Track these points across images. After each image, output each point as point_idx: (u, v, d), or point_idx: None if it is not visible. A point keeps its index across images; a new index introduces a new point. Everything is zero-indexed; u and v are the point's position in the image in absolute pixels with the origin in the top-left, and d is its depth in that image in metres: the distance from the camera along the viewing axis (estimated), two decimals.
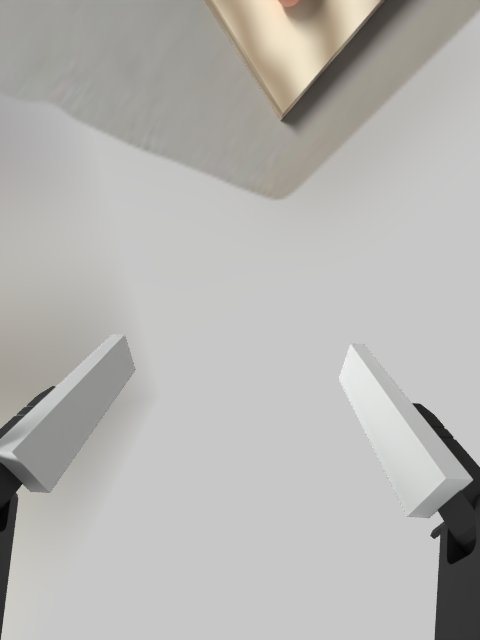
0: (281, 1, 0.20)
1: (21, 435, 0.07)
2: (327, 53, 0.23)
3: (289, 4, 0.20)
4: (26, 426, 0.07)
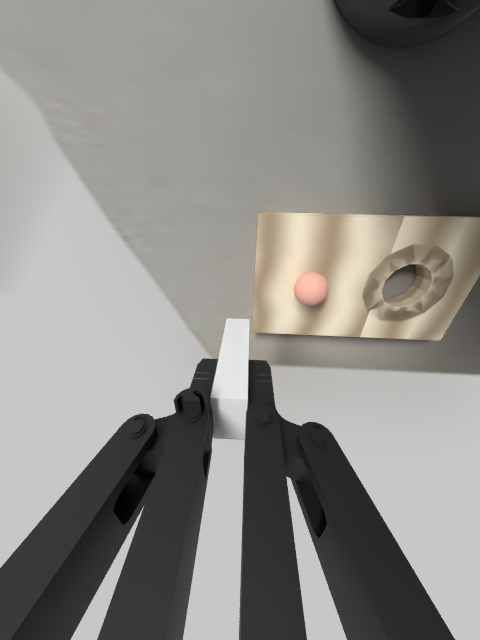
0: None
1: (225, 388, 0.09)
2: (302, 330, 0.27)
3: None
4: (223, 382, 0.09)
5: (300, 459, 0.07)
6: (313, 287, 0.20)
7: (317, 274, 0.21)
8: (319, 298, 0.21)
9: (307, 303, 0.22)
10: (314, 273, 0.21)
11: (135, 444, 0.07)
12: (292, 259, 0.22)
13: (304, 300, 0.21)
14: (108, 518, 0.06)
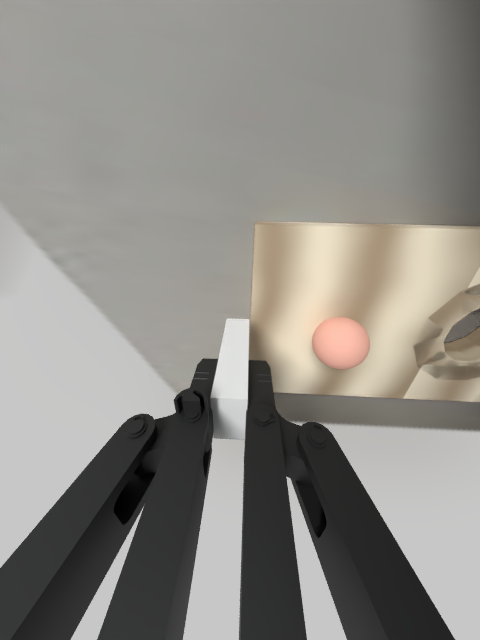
0: None
1: (225, 388, 0.09)
2: (320, 389, 0.19)
3: None
4: (223, 382, 0.09)
5: (300, 459, 0.07)
6: (347, 348, 0.12)
7: (352, 323, 0.13)
8: (356, 363, 0.13)
9: (335, 368, 0.14)
10: (348, 321, 0.13)
11: (135, 444, 0.07)
12: (308, 295, 0.14)
13: (331, 364, 0.13)
14: (108, 518, 0.06)
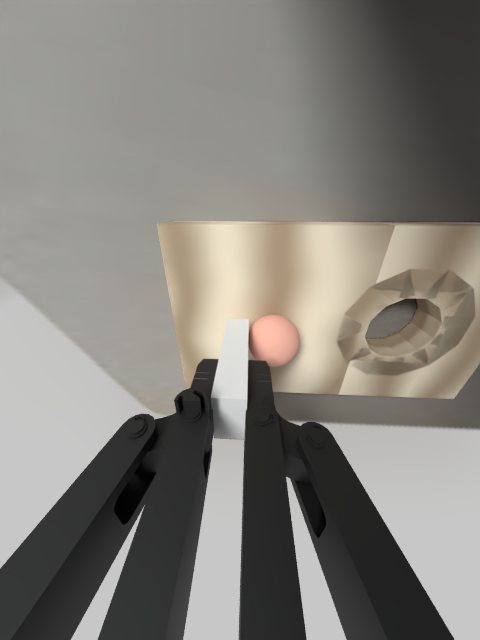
0: (254, 356, 0.14)
1: (225, 388, 0.09)
2: None
3: None
4: (223, 382, 0.09)
5: (300, 459, 0.07)
6: (290, 344, 0.13)
7: (282, 319, 0.13)
8: (296, 353, 0.14)
9: (280, 365, 0.14)
10: (278, 319, 0.13)
11: (135, 444, 0.07)
12: (223, 292, 0.14)
13: (279, 364, 0.13)
14: (108, 518, 0.06)
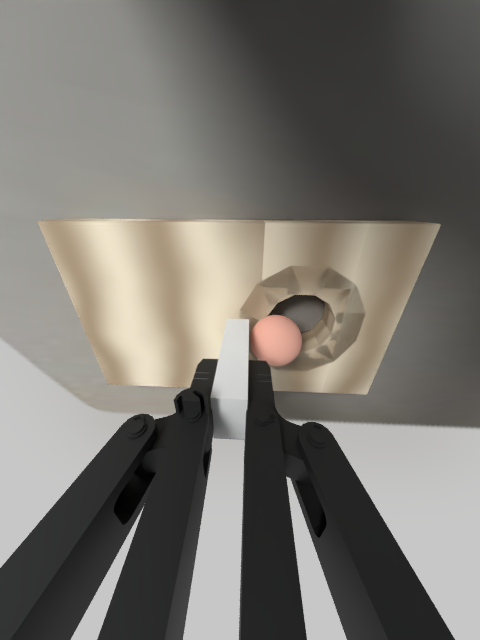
0: None
1: (225, 388, 0.09)
2: (174, 382, 0.19)
3: None
4: (223, 382, 0.09)
5: (300, 459, 0.07)
6: (254, 326, 0.14)
7: (272, 319, 0.13)
8: (251, 346, 0.14)
9: None
10: (275, 317, 0.13)
11: (135, 444, 0.07)
12: (119, 289, 0.15)
13: None
14: (108, 518, 0.06)
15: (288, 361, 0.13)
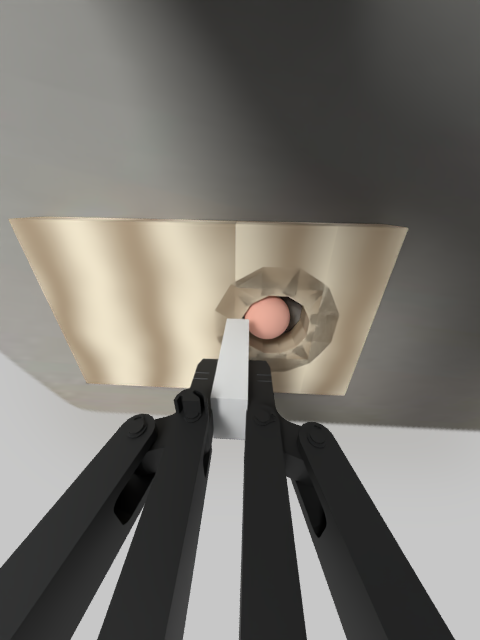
0: None
1: (225, 388, 0.09)
2: (153, 381, 0.19)
3: None
4: (223, 382, 0.09)
5: (300, 460, 0.07)
6: (254, 306, 0.15)
7: None
8: (262, 324, 0.15)
9: (251, 331, 0.15)
10: None
11: (135, 444, 0.07)
12: (93, 288, 0.15)
13: None
14: (108, 518, 0.06)
15: None
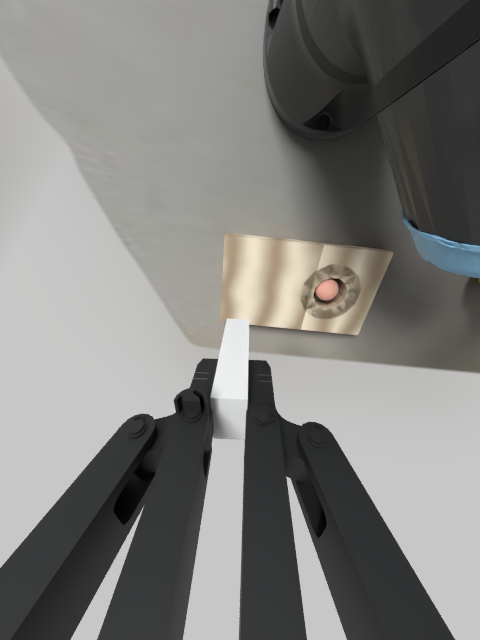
0: None
1: (225, 388, 0.09)
2: (258, 322, 0.36)
3: (317, 296, 0.34)
4: (223, 382, 0.09)
5: (300, 459, 0.07)
6: (324, 283, 0.32)
7: (330, 279, 0.32)
8: (328, 292, 0.31)
9: (321, 296, 0.32)
10: None
11: (135, 444, 0.07)
12: (249, 268, 0.31)
13: (318, 293, 0.32)
14: (108, 518, 0.06)
15: None
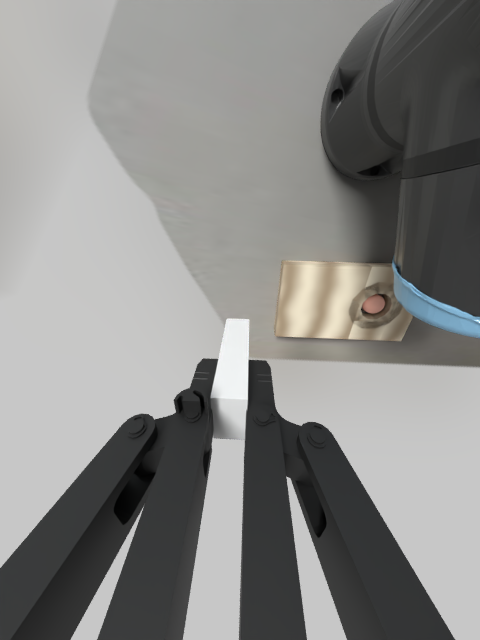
0: None
1: (225, 388, 0.09)
2: (309, 334, 0.40)
3: None
4: (223, 382, 0.09)
5: (300, 459, 0.07)
6: (372, 300, 0.36)
7: (377, 294, 0.36)
8: (377, 307, 0.35)
9: (369, 310, 0.36)
10: None
11: (135, 444, 0.07)
12: (303, 290, 0.36)
13: (367, 308, 0.36)
14: (108, 518, 0.06)
15: None
